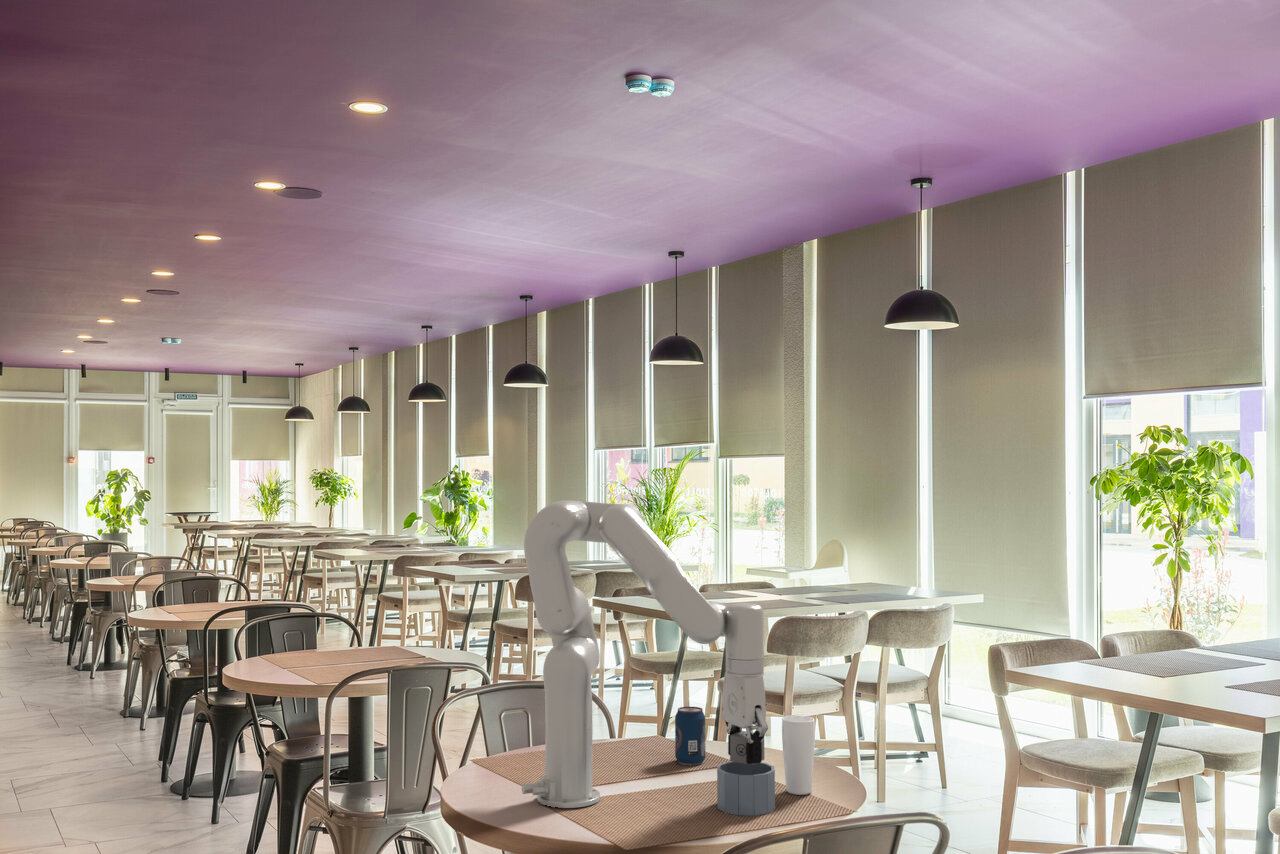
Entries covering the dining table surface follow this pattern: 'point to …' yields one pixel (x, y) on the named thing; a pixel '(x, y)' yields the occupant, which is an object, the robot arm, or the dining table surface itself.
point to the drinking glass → (798, 753)
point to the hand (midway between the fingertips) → (744, 757)
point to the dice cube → (740, 747)
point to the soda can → (690, 736)
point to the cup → (745, 788)
